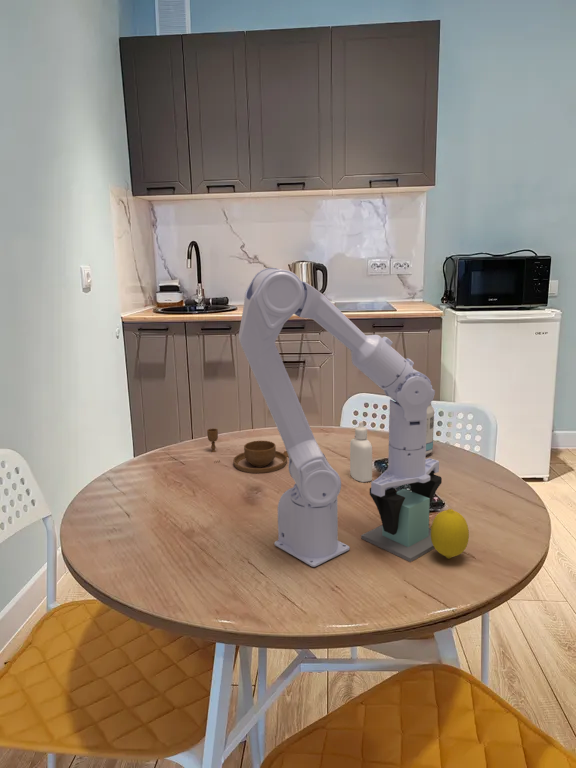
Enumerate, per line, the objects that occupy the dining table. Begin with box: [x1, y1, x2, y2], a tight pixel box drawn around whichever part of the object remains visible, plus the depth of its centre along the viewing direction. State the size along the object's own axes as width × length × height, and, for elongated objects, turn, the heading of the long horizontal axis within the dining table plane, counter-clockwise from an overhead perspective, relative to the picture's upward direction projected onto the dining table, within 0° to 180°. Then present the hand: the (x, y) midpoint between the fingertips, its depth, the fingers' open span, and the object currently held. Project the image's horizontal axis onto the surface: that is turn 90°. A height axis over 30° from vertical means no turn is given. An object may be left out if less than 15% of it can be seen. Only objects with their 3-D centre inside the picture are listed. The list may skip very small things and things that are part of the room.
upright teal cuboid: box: [382, 488, 431, 547], centre depth 93 cm, size 5×5×7 cm
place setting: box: [206, 428, 289, 474], centre depth 132 cm, size 18×20×6 cm
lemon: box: [430, 508, 470, 559], centre depth 87 cm, size 6×6×8 cm
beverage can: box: [426, 402, 435, 456], centre depth 132 cm, size 7×7×12 cm
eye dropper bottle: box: [349, 421, 373, 483], centre depth 118 cm, size 4×6×12 cm
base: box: [360, 524, 435, 563], centre depth 94 cm, size 10×10×1 cm
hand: (405, 524), depth 93 cm, fingers open, 7 cm apart
